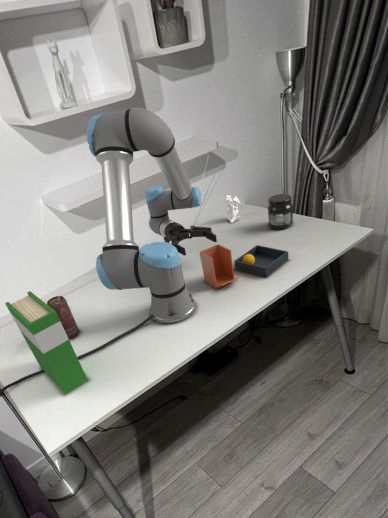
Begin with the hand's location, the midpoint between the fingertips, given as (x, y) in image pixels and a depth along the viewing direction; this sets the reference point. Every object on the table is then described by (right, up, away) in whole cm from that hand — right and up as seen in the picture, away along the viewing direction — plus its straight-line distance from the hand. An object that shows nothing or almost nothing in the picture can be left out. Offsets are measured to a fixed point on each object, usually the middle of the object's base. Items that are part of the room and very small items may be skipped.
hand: (200, 245), depth 147 cm
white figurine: (+16, +23, +43) cm, 51 cm away
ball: (+18, -5, +3) cm, 19 cm away
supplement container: (+36, +16, +29) cm, 48 cm away
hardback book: (-41, -46, -27) cm, 67 cm away
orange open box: (+8, -14, -1) cm, 16 cm away
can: (-44, -33, -11) cm, 56 cm away
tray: (+23, -6, +4) cm, 24 cm away
